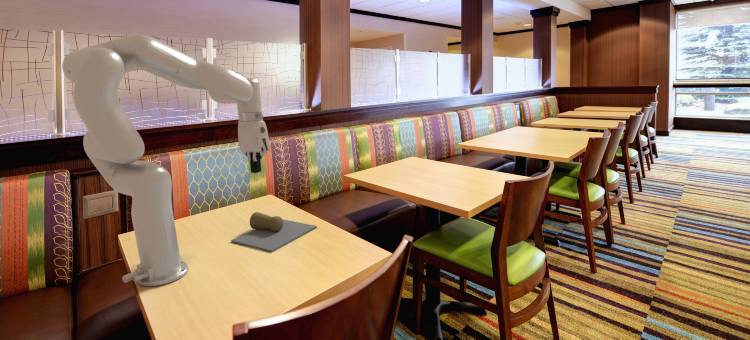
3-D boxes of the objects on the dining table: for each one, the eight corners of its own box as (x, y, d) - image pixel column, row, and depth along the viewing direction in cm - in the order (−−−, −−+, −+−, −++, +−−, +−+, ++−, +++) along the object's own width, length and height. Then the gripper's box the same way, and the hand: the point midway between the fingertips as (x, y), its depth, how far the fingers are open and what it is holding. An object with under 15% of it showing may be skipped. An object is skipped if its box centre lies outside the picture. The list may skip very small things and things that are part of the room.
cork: (249, 230, 137) (274, 235, 132) (249, 213, 137) (274, 217, 132) (262, 227, 143) (286, 231, 138) (262, 210, 142) (286, 214, 137)
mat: (271, 252, 121) (271, 250, 121) (231, 241, 130) (231, 240, 130) (317, 227, 139) (317, 226, 139) (278, 219, 148) (278, 218, 148)
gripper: (275, 116, 129) (280, 171, 133) (243, 115, 136) (249, 168, 141) (258, 119, 123) (264, 176, 127) (225, 118, 130) (232, 172, 134)
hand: (256, 172), depth 134 cm, fingers closed
